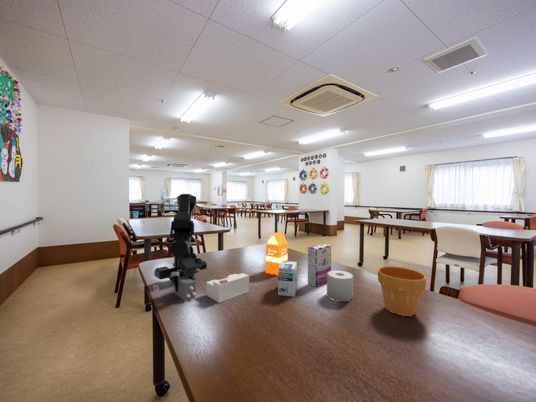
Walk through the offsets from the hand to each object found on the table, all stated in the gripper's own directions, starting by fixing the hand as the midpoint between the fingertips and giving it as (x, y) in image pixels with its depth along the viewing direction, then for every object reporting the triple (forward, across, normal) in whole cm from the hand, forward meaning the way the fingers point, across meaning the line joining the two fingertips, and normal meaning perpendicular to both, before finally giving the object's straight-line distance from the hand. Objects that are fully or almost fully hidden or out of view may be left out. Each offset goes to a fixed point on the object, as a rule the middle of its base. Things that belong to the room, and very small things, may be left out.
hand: (182, 290), depth 91 cm
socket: (+1, +13, -12) cm, 18 cm away
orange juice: (+2, +46, -8) cm, 47 cm away
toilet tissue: (+2, +44, -43) cm, 61 cm away
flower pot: (+2, +47, -64) cm, 79 cm away
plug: (+1, 0, -2) cm, 3 cm away
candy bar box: (+2, +49, -30) cm, 58 cm away
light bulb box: (+2, +32, -26) cm, 42 cm away
